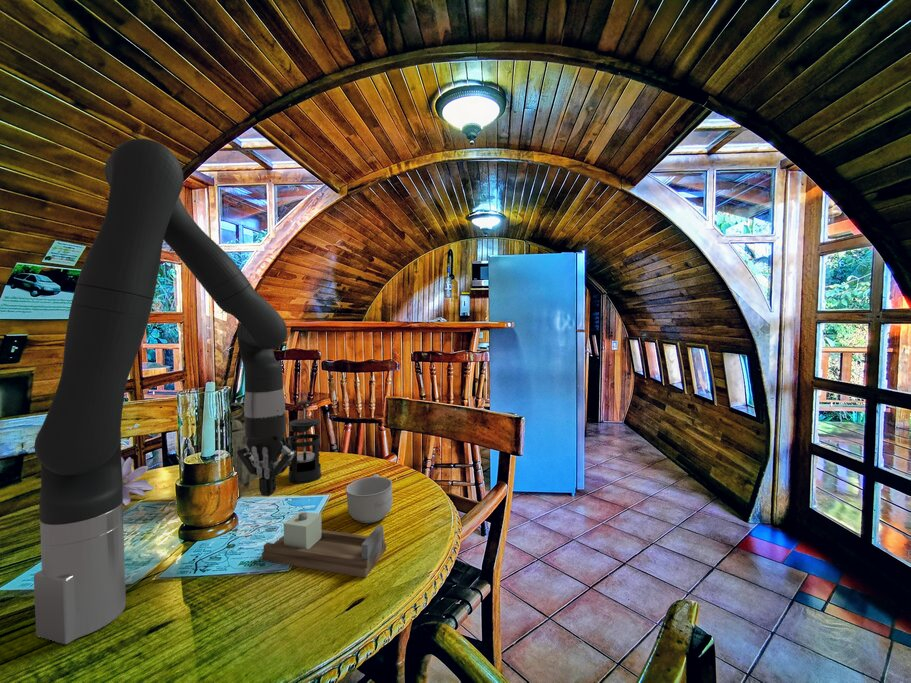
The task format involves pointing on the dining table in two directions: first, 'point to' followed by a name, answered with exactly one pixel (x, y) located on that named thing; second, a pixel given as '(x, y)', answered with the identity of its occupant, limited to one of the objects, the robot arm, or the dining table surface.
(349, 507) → the teacup
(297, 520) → the slider
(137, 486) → the water lily
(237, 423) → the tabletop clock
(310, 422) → the french press
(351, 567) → the track
